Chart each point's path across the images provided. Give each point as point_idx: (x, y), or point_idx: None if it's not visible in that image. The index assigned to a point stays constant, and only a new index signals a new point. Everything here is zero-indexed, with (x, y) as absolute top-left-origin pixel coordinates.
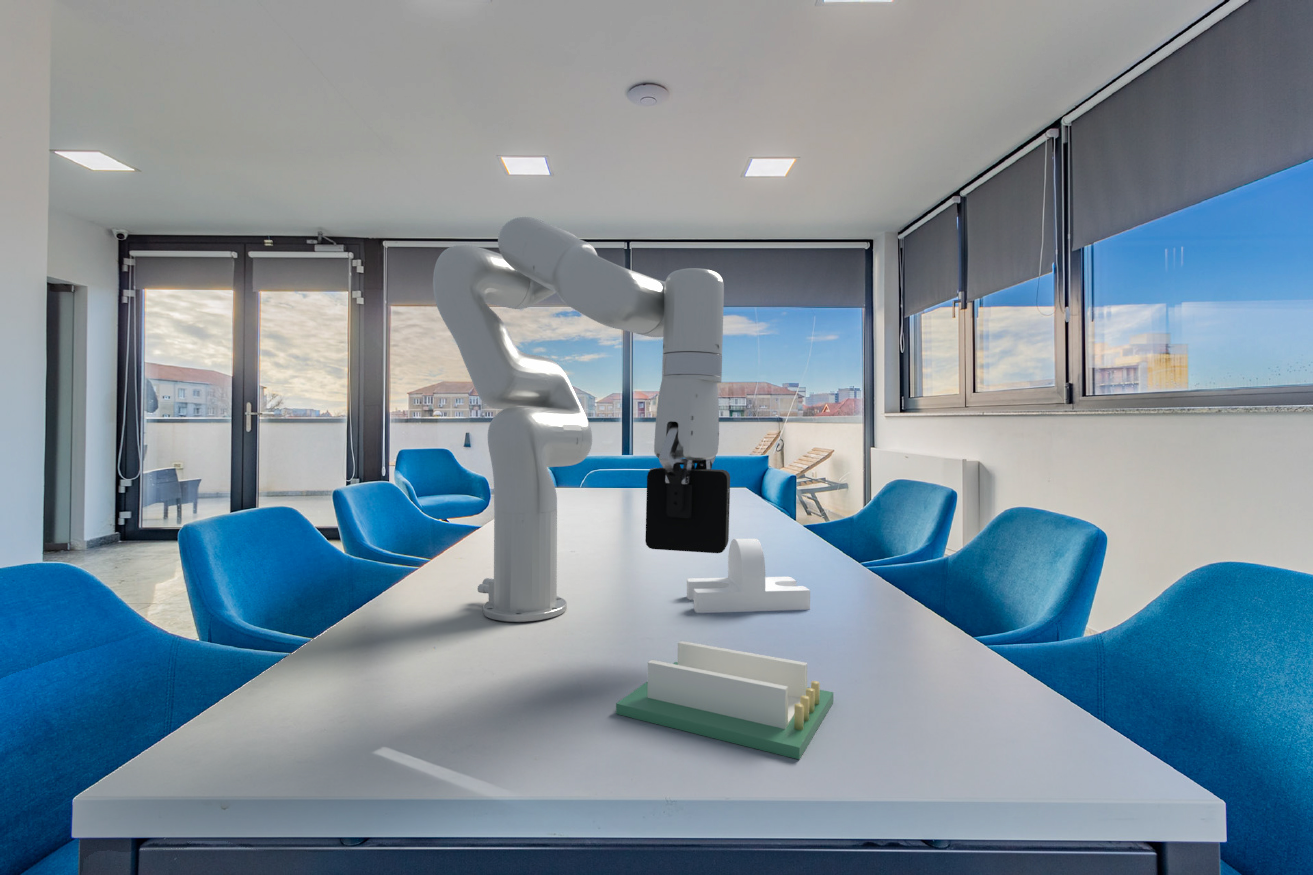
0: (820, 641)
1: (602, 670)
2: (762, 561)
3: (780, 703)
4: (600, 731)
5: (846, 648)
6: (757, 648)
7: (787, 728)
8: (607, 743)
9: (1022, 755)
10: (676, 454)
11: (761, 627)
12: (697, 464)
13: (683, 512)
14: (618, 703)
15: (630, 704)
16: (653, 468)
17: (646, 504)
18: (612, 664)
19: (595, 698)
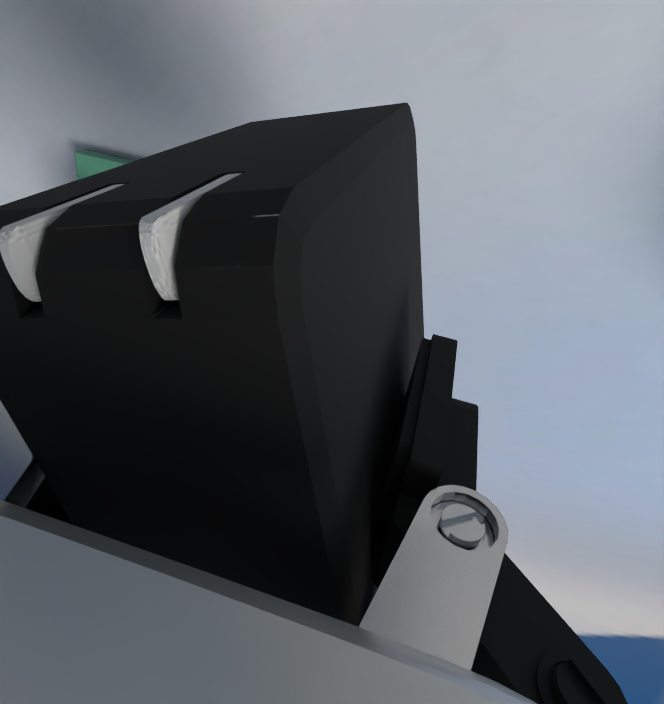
0: (541, 445)
1: (227, 29)
2: None
3: None
4: (34, 148)
5: (504, 478)
6: (468, 336)
7: None
8: (18, 172)
9: None
10: (266, 643)
11: (643, 340)
12: (506, 684)
13: None
14: (76, 156)
15: (84, 177)
16: (141, 241)
17: (151, 156)
18: (269, 36)
19: (111, 85)
